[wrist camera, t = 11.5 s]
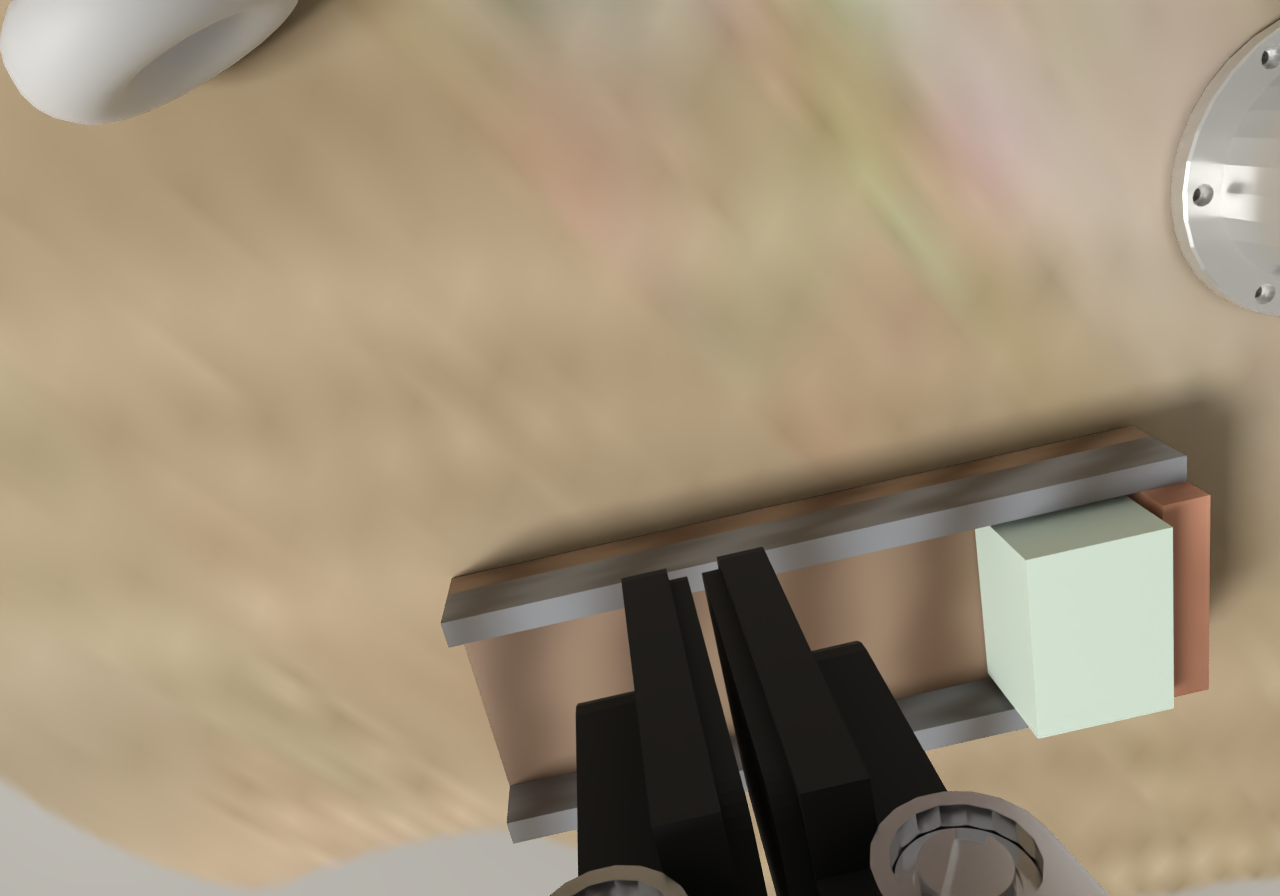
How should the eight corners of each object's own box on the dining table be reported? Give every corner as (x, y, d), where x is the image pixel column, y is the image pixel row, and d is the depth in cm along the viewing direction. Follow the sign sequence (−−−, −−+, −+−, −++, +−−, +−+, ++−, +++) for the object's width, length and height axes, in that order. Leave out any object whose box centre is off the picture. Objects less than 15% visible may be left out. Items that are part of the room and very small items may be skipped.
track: (1131, 425, 42) (1210, 468, 37) (1136, 645, 46) (1208, 711, 41) (451, 578, 42) (435, 642, 37) (517, 784, 46) (511, 868, 41)
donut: (145, 143, 35) (-10, 152, 26) (79, 59, 34) (-107, 36, 24) (358, -7, 34) (279, -55, 24) (298, -99, 33) (191, -187, 23)
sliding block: (1103, 480, 41) (1172, 527, 36) (1109, 645, 44) (1173, 708, 40) (973, 510, 41) (1025, 560, 36) (987, 672, 44) (1038, 738, 40)
